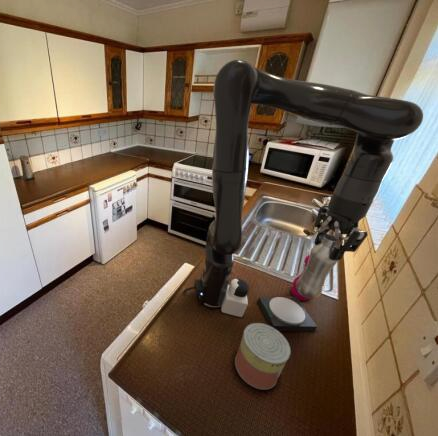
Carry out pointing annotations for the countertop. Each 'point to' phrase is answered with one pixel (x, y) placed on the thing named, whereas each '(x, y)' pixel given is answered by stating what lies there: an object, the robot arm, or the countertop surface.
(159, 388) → the countertop surface
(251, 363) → the canned food
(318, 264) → the plastic bottle
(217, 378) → the countertop surface
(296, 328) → the scale
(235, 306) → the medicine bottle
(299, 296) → the pepper mill
